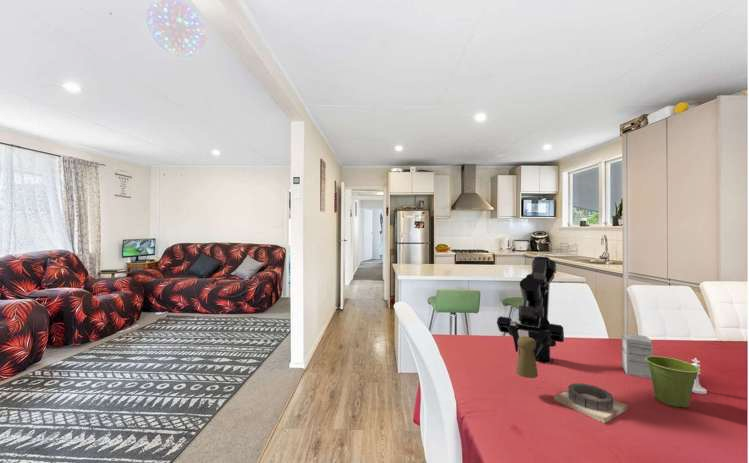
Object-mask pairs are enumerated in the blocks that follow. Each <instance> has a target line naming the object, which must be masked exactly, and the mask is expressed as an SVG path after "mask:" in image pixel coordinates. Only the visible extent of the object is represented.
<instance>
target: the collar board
mask: <svg viewBox="0 0 749 463" xmlns="http://www.w3.org/2000/svg"><path fill="white" fill-rule="evenodd" d="M553 399H554V402H557V403H559V404H561V405H563V406H565V407H568V408H570V409H572V410H574V411H576V412H579V413H581V414H583V415H586V416H588V417H589V418H592V419H594V420H596V421H599V422H600V421H601V422H600V423H602V424H605V423H607V422H609V421H610V420H612V419H614V418H615V417H617V416H619V415H621V414H622V413H624V412H626V411H628V404H625V403H622V402H620V401H617V400H615V399H614V396H613V395H612V393H610V392H609V391H607V390H606V389H604V388H602V387H601V388H600V387H599V386H595V385H594V384H593V385H592V384H588V383H576V382H575V383H571V384H569V385H568V390H565V391H563V392H560V393H559V394H557V395H554V398H553Z"/></svg>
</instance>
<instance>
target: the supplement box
mask: <svg viewBox="0 0 749 463" xmlns="http://www.w3.org/2000/svg"><path fill="white" fill-rule="evenodd" d="M621 349H622V350H621V367H622V369H623V371H625V374H626V375H627V376H634V377H640V378H644V379H646V378H647V379H651V380H652V378H651V372H650V369H649V366H648V362H647V361H646V359H645V358H646V357H648V356H654V355H653V353H654V351H653V349H654V348H653V341H652V340H650V338H649V337H647V336H646V335H639V334H633V333H625V332H624V333H622V335H621Z"/></svg>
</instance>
